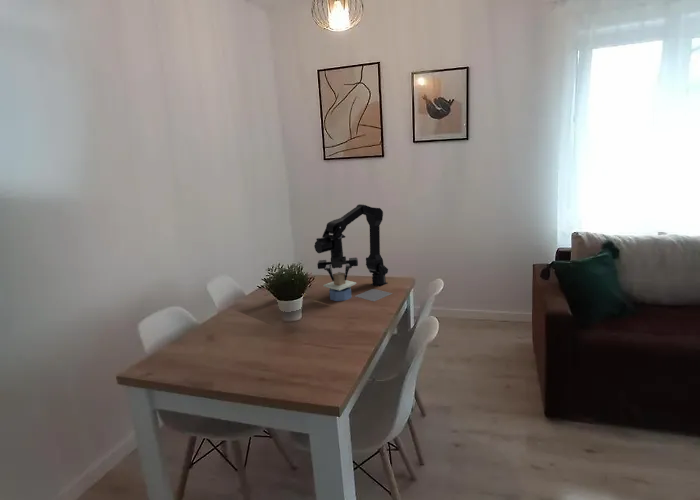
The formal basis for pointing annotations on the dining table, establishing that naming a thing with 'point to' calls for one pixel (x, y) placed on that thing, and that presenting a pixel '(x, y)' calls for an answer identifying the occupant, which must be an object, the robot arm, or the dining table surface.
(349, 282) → the lid
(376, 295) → the mat
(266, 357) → the dining table surface
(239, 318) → the dining table surface
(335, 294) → the bowl
